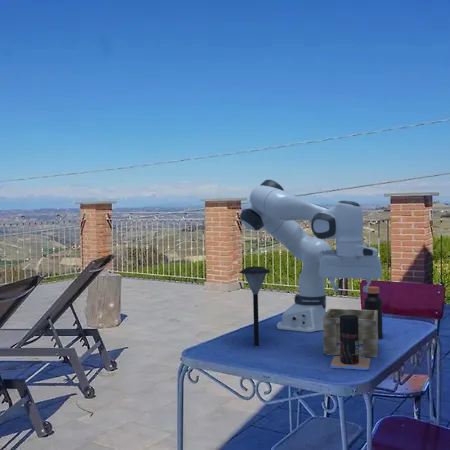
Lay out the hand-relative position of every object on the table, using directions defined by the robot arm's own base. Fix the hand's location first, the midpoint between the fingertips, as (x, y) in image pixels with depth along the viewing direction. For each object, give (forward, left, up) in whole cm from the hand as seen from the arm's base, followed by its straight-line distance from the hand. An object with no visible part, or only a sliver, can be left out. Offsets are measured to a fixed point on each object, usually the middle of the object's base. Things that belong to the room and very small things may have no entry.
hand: (350, 291), depth 171 cm
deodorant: (-1, 0, -24) cm, 24 cm away
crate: (-1, +18, -24) cm, 30 cm away
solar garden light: (-36, +15, -24) cm, 46 cm away
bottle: (+6, +38, -24) cm, 45 cm away
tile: (0, 0, -24) cm, 24 cm away
